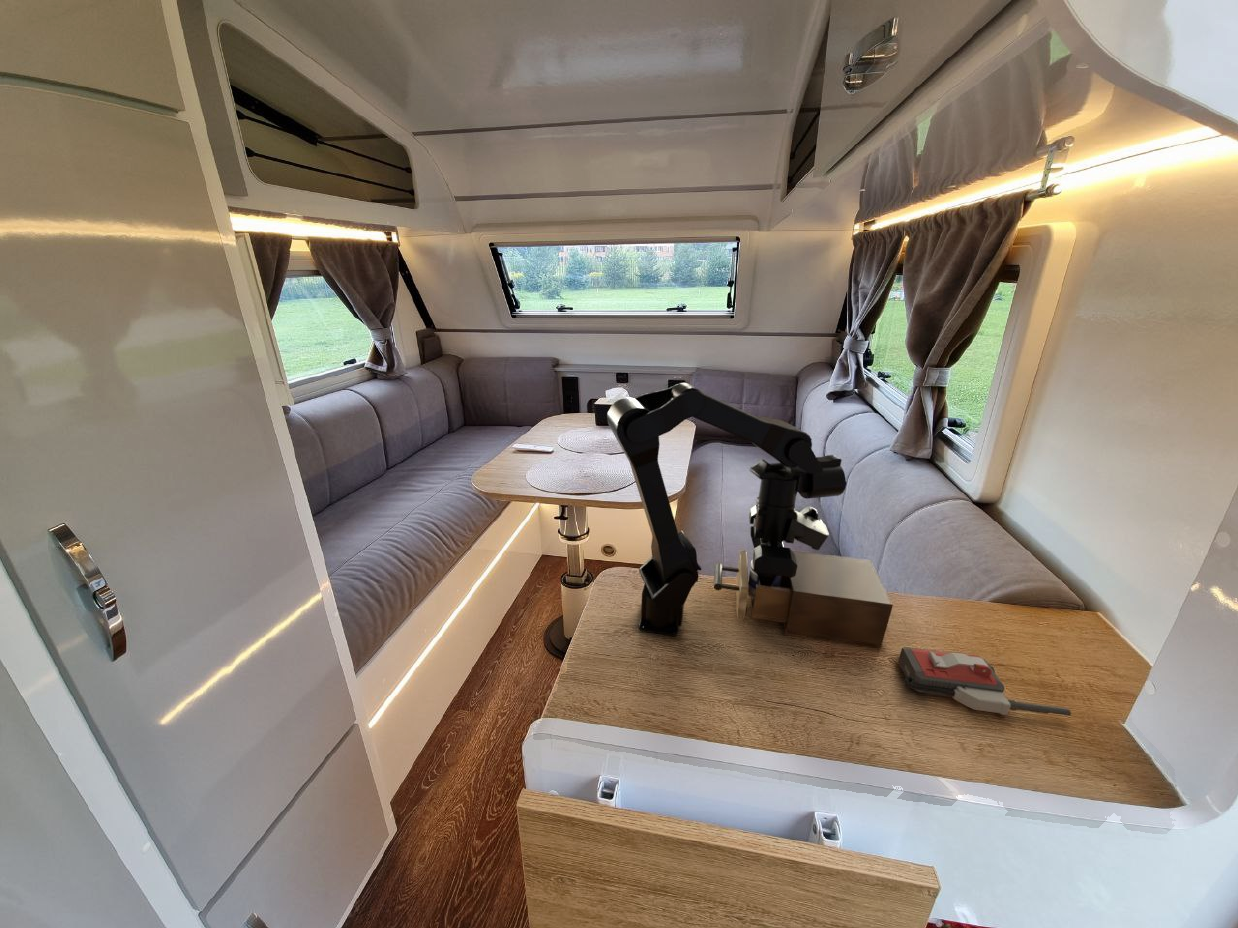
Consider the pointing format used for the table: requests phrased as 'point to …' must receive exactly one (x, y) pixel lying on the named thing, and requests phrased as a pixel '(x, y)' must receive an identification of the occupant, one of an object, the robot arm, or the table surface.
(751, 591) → the pill bottle
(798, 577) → the cabinet
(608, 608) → the table surface
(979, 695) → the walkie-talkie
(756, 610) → the drawer
